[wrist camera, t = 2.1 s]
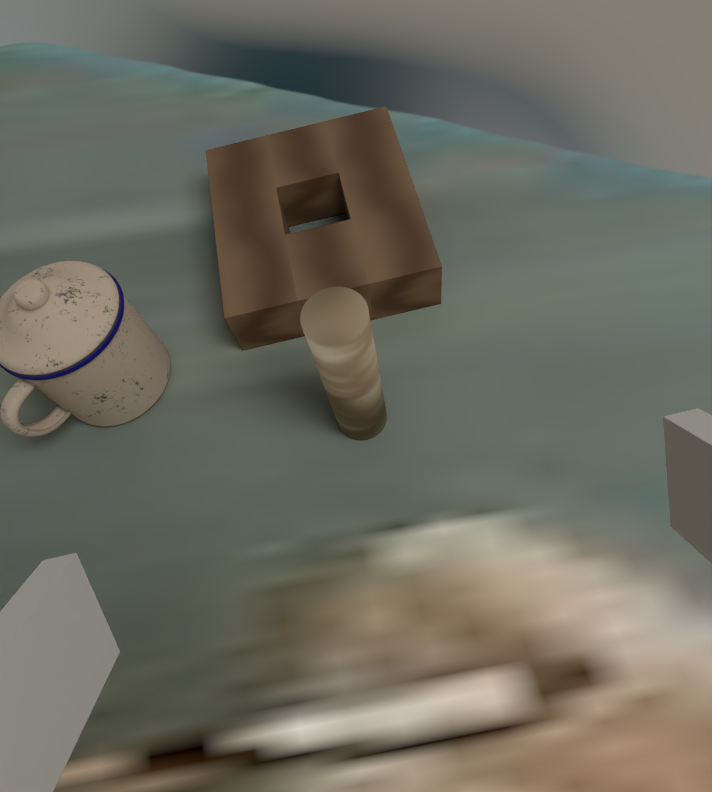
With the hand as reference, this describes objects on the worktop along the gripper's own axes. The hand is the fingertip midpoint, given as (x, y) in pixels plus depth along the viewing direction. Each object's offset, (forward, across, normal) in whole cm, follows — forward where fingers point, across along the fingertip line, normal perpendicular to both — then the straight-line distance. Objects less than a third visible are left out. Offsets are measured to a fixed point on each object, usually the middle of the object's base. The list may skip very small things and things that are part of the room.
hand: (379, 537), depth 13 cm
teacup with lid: (+33, -19, -2) cm, 38 cm away
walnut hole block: (+40, 0, +5) cm, 40 cm away
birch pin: (+28, 0, -7) cm, 28 cm away
